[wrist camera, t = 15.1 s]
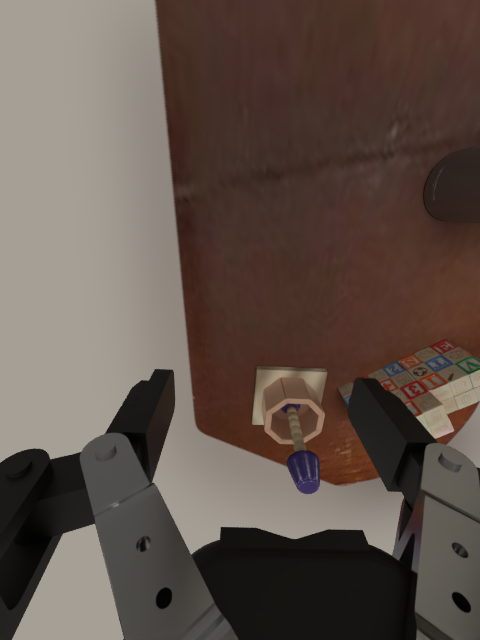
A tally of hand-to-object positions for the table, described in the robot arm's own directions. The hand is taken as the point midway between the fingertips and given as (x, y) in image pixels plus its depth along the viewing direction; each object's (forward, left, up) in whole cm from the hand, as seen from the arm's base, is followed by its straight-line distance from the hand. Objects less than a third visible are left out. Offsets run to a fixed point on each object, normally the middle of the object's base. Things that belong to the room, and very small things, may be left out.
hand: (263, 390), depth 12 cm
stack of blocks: (-30, +21, -34) cm, 50 cm away
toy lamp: (-10, +26, -31) cm, 42 cm away
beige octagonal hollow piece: (-10, +26, -32) cm, 42 cm away
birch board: (-10, +26, -33) cm, 43 cm away
